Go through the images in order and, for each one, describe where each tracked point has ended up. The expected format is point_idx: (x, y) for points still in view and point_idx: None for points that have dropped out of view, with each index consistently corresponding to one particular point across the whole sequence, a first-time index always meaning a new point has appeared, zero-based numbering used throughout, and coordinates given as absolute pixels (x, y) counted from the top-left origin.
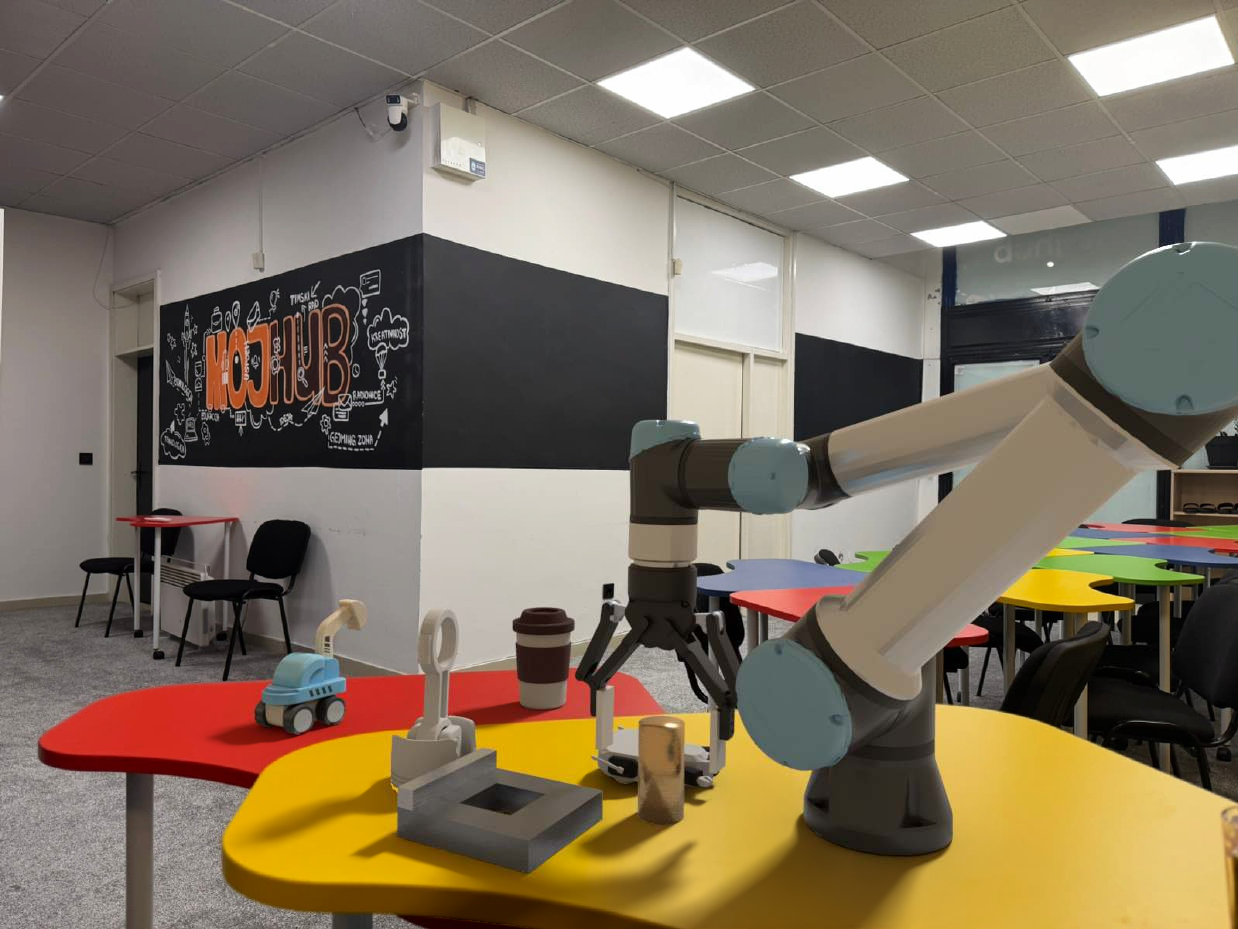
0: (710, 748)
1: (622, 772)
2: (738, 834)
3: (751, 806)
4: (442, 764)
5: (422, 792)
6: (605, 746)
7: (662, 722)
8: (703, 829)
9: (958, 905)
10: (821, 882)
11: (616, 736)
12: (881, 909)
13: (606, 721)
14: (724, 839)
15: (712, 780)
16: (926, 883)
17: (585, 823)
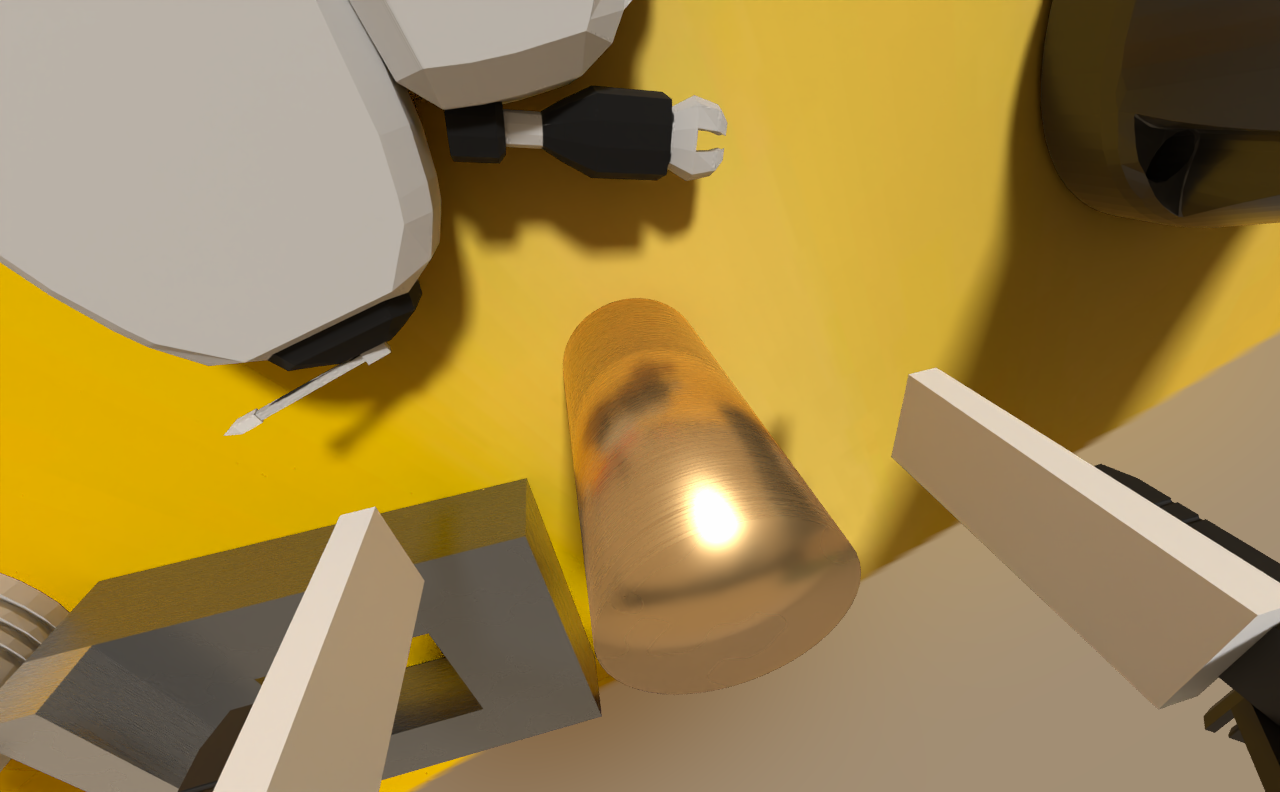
0: (965, 523)
1: (387, 345)
2: (861, 321)
3: (854, 93)
4: (2, 756)
5: None
6: (407, 564)
7: (735, 616)
8: (772, 356)
9: (1273, 306)
10: (1045, 390)
11: None
12: (1130, 401)
13: (373, 682)
14: (837, 367)
15: (725, 121)
16: (1253, 261)
17: (550, 553)
